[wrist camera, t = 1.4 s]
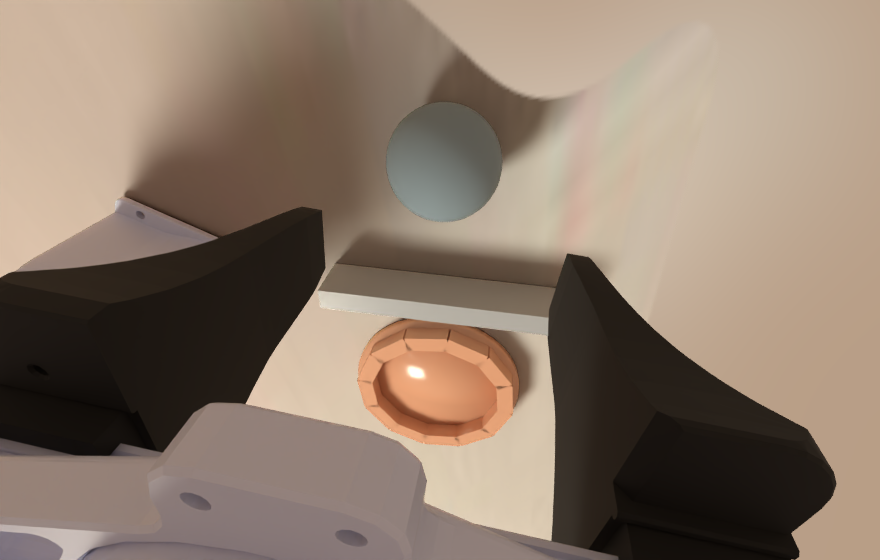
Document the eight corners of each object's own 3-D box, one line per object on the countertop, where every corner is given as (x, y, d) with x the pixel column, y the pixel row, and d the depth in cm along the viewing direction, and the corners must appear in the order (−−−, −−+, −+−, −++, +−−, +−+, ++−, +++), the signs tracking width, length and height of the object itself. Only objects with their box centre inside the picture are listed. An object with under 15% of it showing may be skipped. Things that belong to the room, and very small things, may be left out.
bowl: (342, 394, 32) (334, 411, 31) (392, 290, 26) (386, 306, 25) (473, 447, 34) (471, 466, 32) (550, 360, 28) (552, 379, 26)
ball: (385, 168, 22) (356, 210, 18) (423, 70, 19) (399, 93, 15) (474, 210, 22) (464, 260, 18) (523, 122, 20) (525, 157, 16)
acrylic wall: (337, 279, 26) (320, 307, 24) (335, 263, 26) (317, 290, 23) (553, 304, 25) (557, 336, 23) (557, 287, 24) (562, 319, 22)
